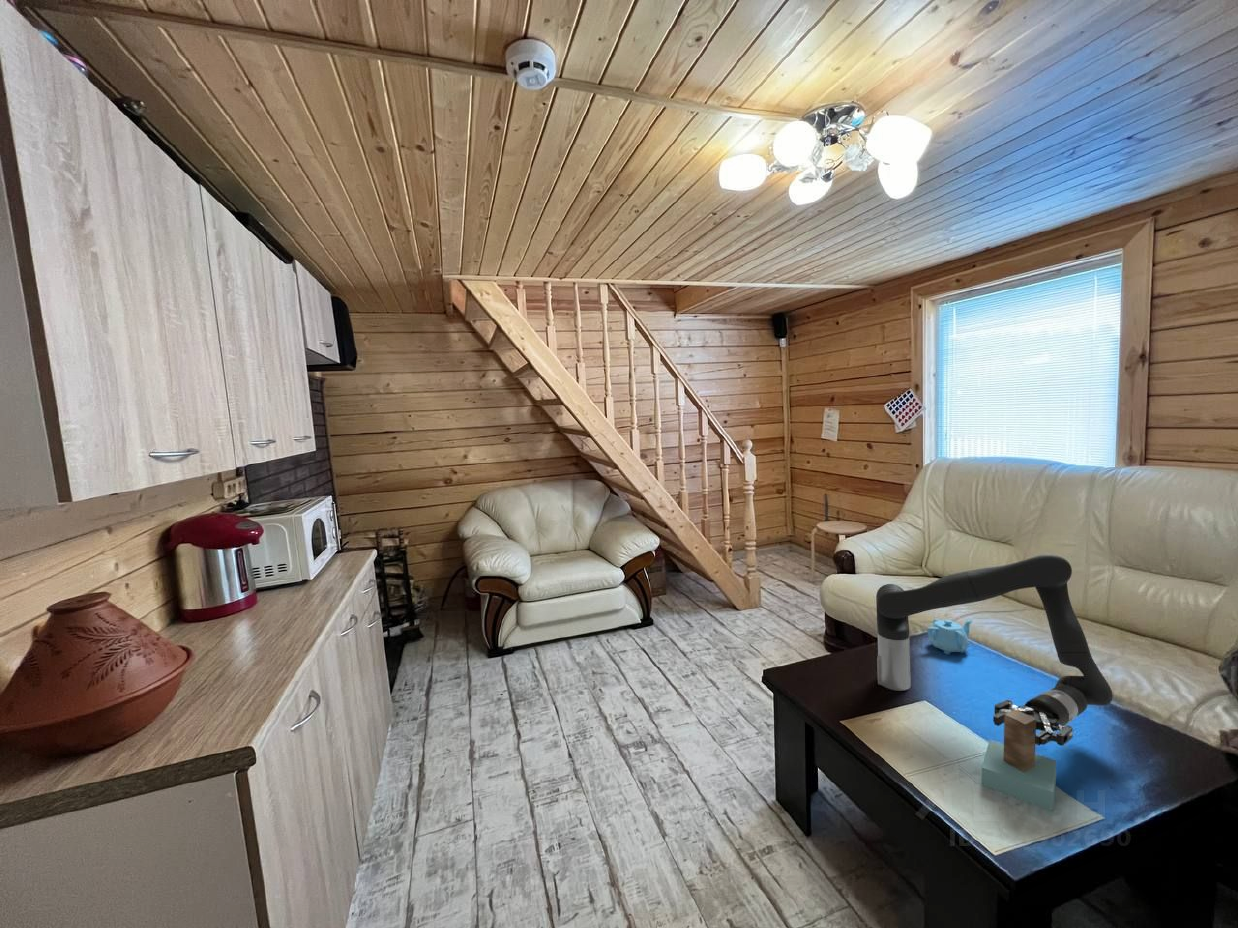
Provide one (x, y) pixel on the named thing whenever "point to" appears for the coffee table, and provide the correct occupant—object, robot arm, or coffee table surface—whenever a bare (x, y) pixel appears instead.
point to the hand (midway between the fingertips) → (1015, 730)
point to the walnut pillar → (1019, 740)
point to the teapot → (949, 635)
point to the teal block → (1020, 777)
